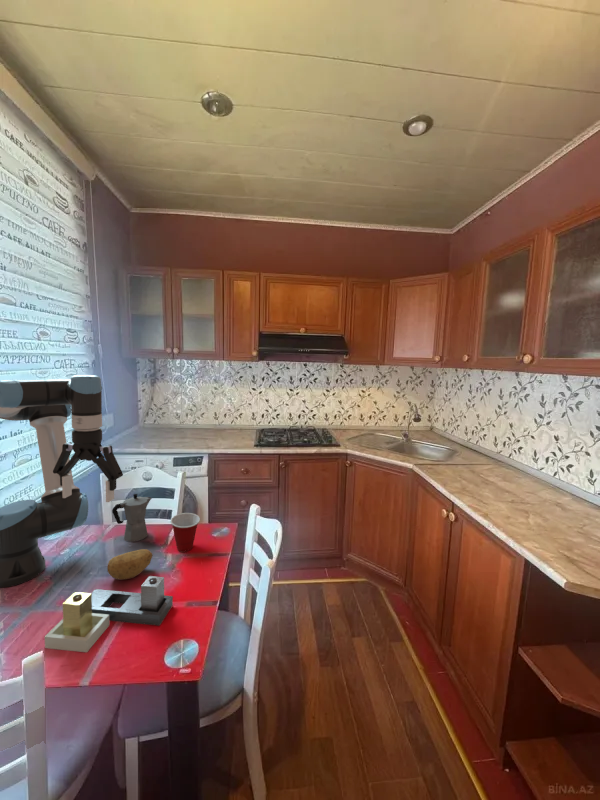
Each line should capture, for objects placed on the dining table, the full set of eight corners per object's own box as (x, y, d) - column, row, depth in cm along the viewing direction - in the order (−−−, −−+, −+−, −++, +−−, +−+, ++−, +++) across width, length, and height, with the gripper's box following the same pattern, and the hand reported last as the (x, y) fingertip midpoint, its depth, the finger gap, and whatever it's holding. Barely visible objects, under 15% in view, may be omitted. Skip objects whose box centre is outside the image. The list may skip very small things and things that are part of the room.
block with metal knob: (76, 626, 93) (75, 590, 92) (92, 628, 92) (91, 591, 91) (63, 639, 88) (62, 602, 87) (80, 641, 88) (79, 603, 87)
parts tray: (45, 648, 86) (44, 636, 86) (71, 621, 95) (71, 611, 95) (86, 652, 85) (86, 640, 85) (109, 625, 94) (109, 614, 94)
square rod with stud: (141, 619, 97) (140, 584, 96) (149, 607, 102) (149, 574, 100) (156, 620, 97) (156, 585, 96) (164, 609, 101) (164, 575, 100)
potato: (157, 574, 117) (157, 552, 116) (111, 591, 108) (111, 567, 107) (147, 561, 124) (147, 540, 124) (103, 576, 115) (103, 554, 114)
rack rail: (76, 617, 97) (76, 607, 96) (95, 598, 105) (95, 589, 104) (159, 625, 95) (159, 615, 95) (172, 605, 103) (172, 596, 103)
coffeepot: (146, 527, 150) (146, 487, 148) (156, 534, 143) (156, 493, 141) (108, 539, 138) (107, 496, 136) (117, 548, 132) (116, 503, 130)
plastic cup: (178, 559, 127) (178, 528, 125) (165, 547, 134) (165, 518, 133) (205, 548, 134) (205, 519, 133) (191, 538, 142) (191, 510, 141)
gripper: (36, 427, 98) (39, 499, 100) (119, 434, 95) (120, 507, 98) (57, 423, 105) (59, 490, 108) (135, 429, 103) (135, 497, 105)
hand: (88, 498), depth 103 cm, fingers open, 13 cm apart
